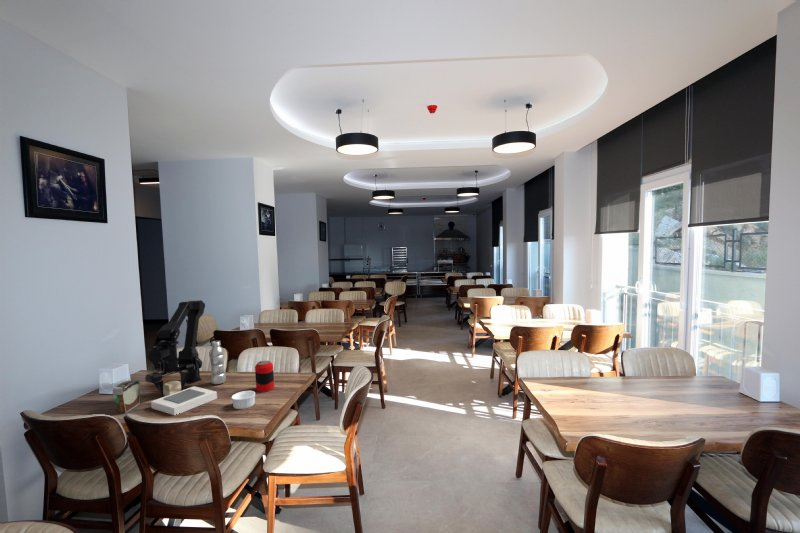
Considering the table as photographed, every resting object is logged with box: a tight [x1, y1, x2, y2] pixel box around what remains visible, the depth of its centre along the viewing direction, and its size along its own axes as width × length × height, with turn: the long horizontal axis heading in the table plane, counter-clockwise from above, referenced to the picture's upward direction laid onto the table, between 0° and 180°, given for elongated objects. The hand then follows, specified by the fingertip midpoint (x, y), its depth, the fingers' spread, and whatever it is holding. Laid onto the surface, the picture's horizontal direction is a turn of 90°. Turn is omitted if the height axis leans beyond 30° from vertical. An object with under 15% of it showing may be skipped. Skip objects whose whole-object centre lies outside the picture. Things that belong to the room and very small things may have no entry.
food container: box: [112, 378, 141, 414], centre depth 155 cm, size 12×6×10 cm, turn 5°
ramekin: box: [231, 390, 256, 410], centre depth 154 cm, size 9×9×4 cm
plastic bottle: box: [208, 340, 227, 385], centre depth 180 cm, size 6×7×20 cm
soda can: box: [254, 360, 275, 393], centre depth 171 cm, size 8×8×12 cm
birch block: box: [163, 380, 182, 396], centre depth 170 cm, size 5×5×5 cm
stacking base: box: [150, 386, 218, 416], centre depth 159 cm, size 18×16×3 cm
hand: (172, 391), depth 170 cm, fingers open, 9 cm apart
